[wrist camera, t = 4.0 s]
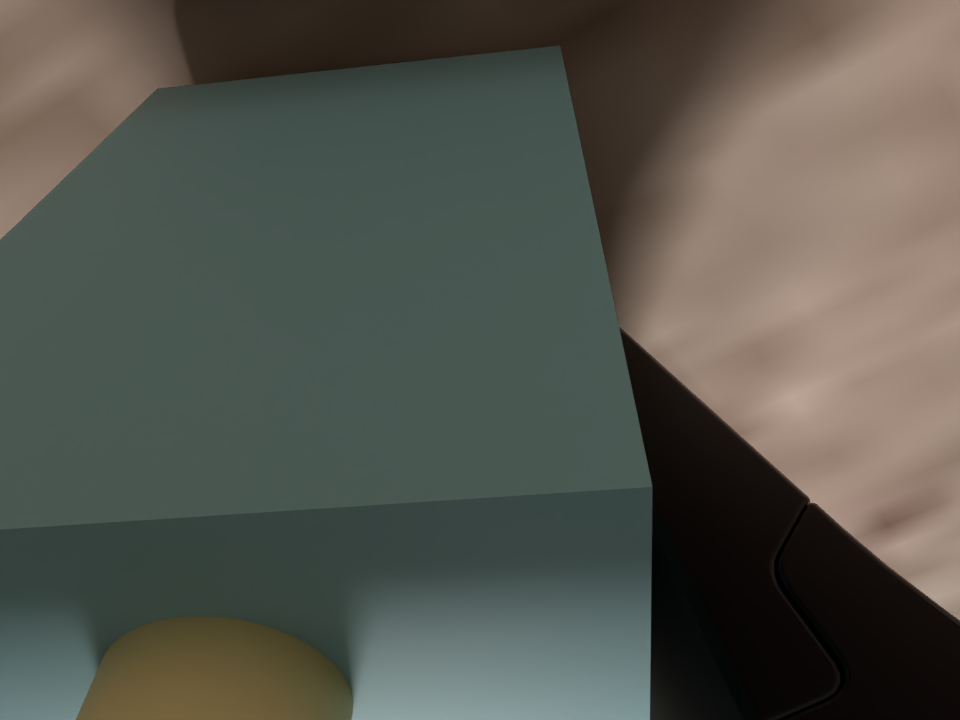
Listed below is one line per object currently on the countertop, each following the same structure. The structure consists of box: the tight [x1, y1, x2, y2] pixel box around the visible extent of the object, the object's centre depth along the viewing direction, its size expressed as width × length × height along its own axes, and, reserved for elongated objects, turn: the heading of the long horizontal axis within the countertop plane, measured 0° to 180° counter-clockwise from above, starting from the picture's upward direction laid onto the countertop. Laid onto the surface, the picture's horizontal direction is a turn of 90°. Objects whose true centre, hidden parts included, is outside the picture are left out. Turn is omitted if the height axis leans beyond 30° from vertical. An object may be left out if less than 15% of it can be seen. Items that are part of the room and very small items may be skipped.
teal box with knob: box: [0, 46, 652, 720], centre depth 7 cm, size 6×4×7 cm, turn 6°
